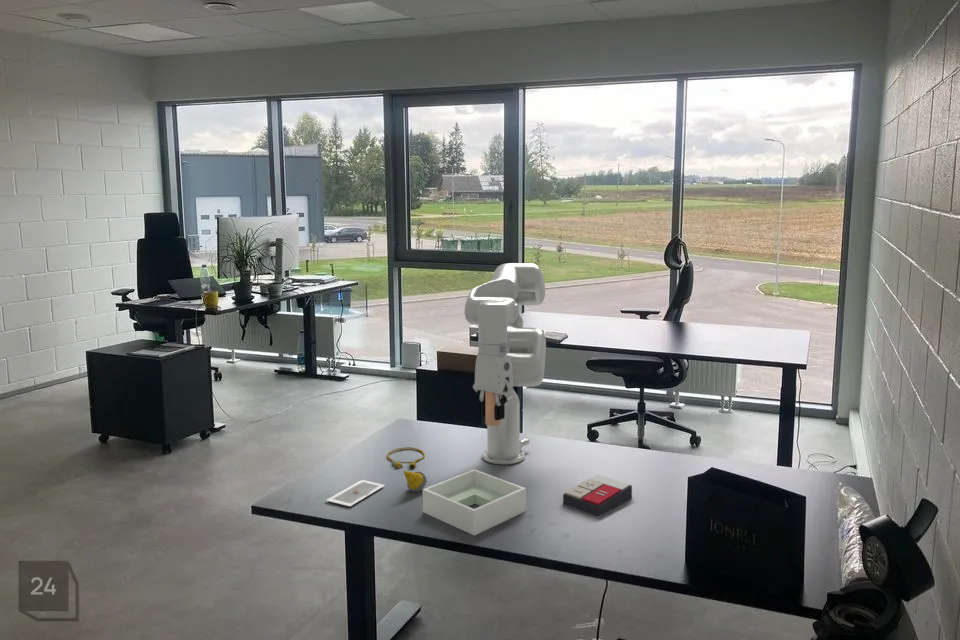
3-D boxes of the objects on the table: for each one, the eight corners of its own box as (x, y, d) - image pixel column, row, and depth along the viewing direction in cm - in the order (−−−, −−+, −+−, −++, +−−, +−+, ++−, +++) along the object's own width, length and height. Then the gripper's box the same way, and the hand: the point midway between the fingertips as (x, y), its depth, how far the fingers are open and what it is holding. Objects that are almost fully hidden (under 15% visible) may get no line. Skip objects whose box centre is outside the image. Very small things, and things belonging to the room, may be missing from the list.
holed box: (474, 490, 194) (474, 469, 193) (526, 511, 182) (526, 488, 181) (423, 512, 182) (422, 489, 181) (474, 535, 169) (474, 511, 168)
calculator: (562, 491, 185) (596, 471, 196) (562, 507, 186) (596, 486, 197) (598, 504, 178) (632, 482, 188) (599, 520, 179) (632, 498, 189)
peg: (492, 420, 196) (492, 387, 195) (503, 423, 193) (503, 390, 192) (482, 423, 193) (482, 390, 192) (493, 426, 190) (493, 393, 189)
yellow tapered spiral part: (432, 492, 195) (413, 476, 188) (415, 499, 196) (395, 483, 189) (430, 474, 198) (411, 458, 191) (413, 481, 200) (394, 465, 193)
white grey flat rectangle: (325, 504, 188) (325, 496, 188) (361, 483, 201) (361, 476, 201) (350, 510, 184) (350, 502, 184) (385, 488, 197) (385, 481, 197)
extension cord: (374, 467, 213) (373, 461, 212) (397, 449, 227) (397, 443, 227) (412, 472, 209) (412, 465, 208) (433, 453, 223) (433, 447, 223)
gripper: (526, 351, 187) (526, 420, 190) (480, 342, 199) (480, 408, 201) (507, 355, 182) (507, 427, 185) (460, 346, 193) (460, 414, 196)
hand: (493, 416), depth 193 cm, fingers closed on peg, 4 cm apart
